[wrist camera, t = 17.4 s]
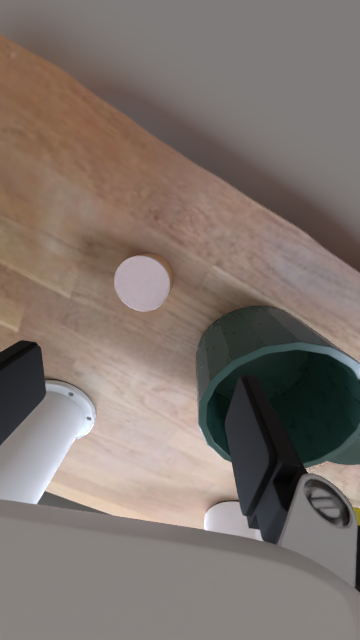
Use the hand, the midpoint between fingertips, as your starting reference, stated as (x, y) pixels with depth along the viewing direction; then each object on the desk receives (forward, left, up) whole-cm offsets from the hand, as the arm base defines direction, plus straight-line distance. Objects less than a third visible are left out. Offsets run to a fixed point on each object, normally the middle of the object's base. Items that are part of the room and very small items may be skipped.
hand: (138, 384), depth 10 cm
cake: (-3, +2, -18) cm, 19 cm away
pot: (+13, -8, -18) cm, 24 cm away
